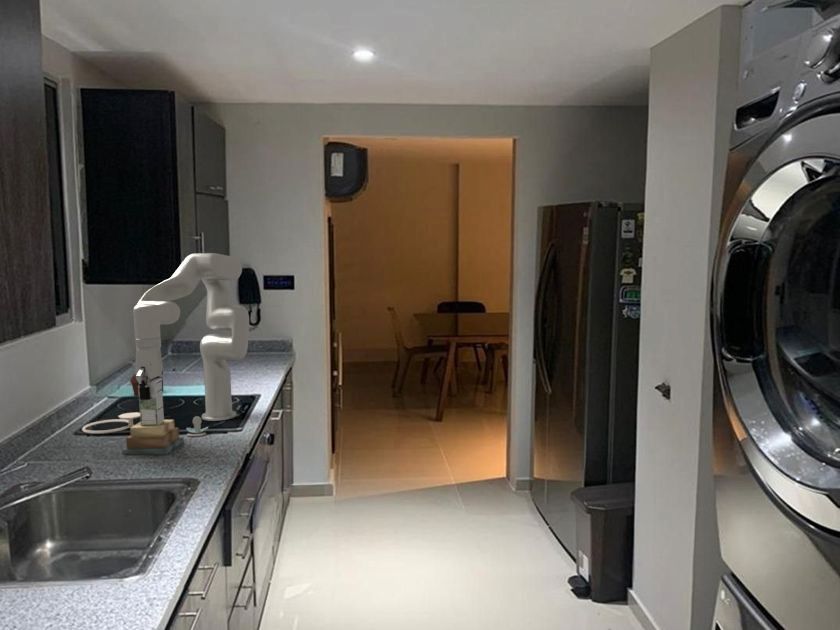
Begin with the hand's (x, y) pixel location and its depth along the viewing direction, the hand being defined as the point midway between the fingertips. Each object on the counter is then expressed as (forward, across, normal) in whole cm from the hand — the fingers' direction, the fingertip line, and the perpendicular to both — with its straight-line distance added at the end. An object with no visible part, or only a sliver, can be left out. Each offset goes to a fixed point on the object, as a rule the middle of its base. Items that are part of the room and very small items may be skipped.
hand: (151, 395), depth 227 cm
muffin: (+19, -76, -38) cm, 87 cm away
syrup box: (+9, +1, 0) cm, 9 cm away
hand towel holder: (+18, -24, -26) cm, 40 cm away
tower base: (+17, +1, 0) cm, 17 cm away
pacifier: (+18, -15, +8) cm, 24 cm away
